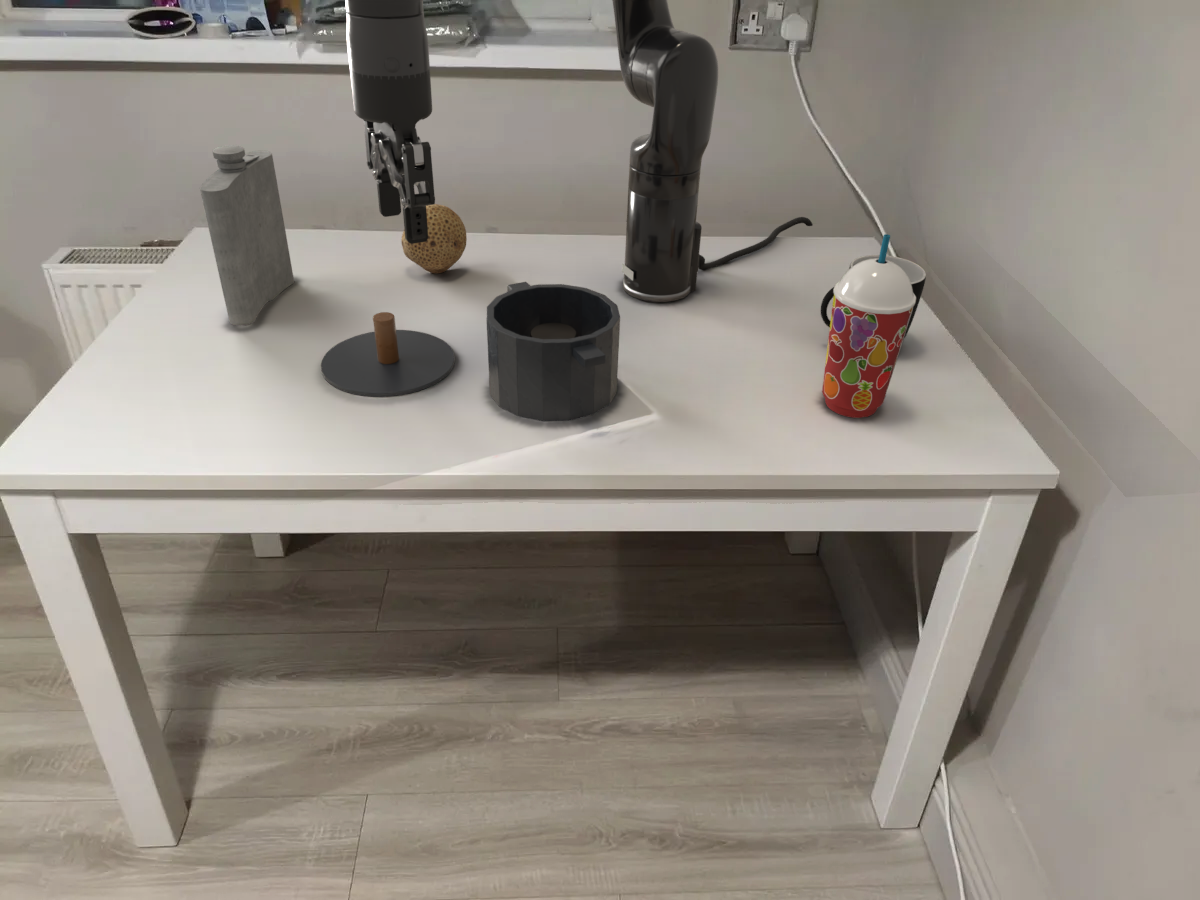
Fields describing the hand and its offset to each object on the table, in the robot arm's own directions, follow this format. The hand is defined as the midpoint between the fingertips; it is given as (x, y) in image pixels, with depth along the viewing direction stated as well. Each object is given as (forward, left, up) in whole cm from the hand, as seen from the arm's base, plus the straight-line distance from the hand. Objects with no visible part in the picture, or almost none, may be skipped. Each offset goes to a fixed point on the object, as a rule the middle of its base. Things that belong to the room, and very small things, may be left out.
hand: (403, 227), depth 96 cm
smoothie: (-42, +27, -18) cm, 53 cm away
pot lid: (+2, -3, -17) cm, 17 cm away
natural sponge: (-12, -26, -18) cm, 33 cm away
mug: (-53, +16, -18) cm, 58 cm away
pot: (-13, +10, -18) cm, 24 cm away
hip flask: (+12, -27, -18) cm, 34 cm away
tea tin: (-13, +10, -17) cm, 24 cm away
